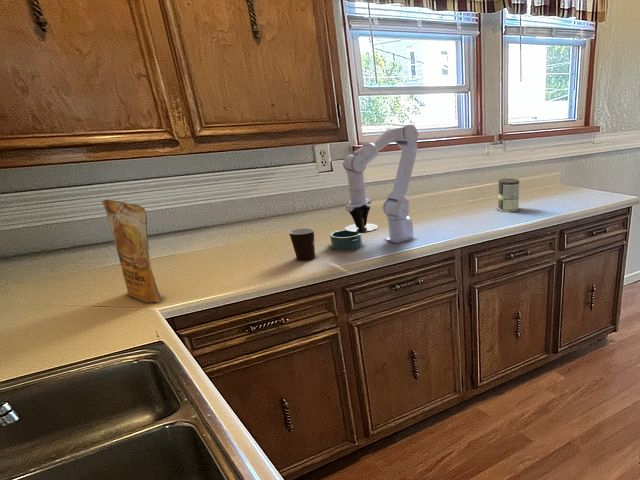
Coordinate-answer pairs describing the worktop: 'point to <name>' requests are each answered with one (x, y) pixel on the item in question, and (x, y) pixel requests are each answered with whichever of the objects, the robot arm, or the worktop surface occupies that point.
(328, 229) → the worktop surface
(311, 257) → the coffee mug
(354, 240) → the pot
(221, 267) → the worktop surface
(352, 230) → the lid
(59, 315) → the worktop surface
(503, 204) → the coffee can
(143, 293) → the pancake mix bag
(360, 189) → the robot arm
